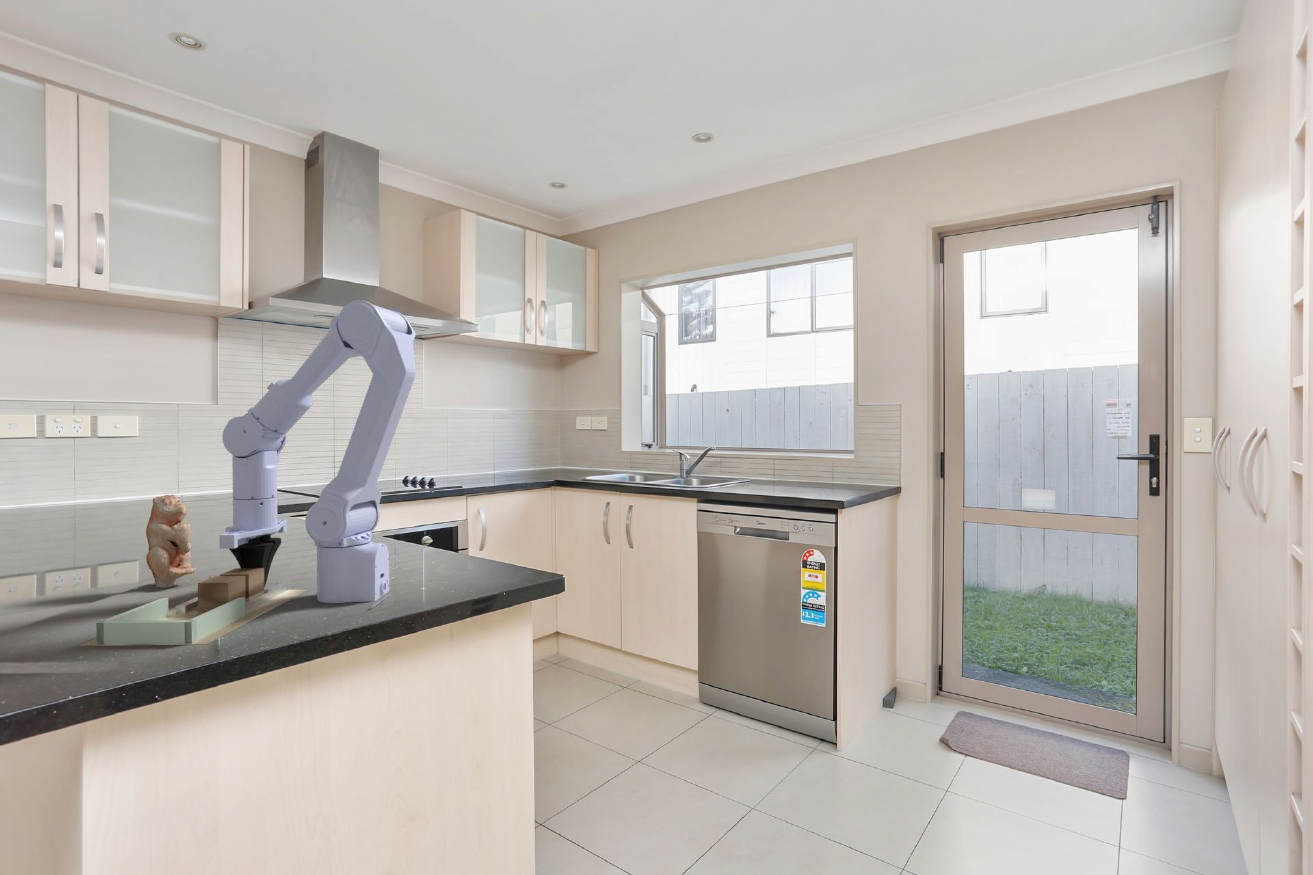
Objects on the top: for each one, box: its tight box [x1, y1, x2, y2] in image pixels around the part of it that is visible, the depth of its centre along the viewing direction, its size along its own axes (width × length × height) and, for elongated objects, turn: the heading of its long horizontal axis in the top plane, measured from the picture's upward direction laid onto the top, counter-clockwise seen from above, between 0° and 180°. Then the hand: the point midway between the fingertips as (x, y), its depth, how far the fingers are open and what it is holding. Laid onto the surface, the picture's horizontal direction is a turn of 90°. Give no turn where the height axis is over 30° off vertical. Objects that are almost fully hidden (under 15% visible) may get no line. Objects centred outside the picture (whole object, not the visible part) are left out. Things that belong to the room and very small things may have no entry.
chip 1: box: [197, 575, 245, 612], centre depth 91 cm, size 4×4×4 cm
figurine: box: [145, 494, 197, 589], centre depth 104 cm, size 6×8×15 cm
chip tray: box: [95, 597, 245, 646], centre depth 82 cm, size 11×11×2 cm
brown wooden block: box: [219, 567, 265, 599], centre depth 96 cm, size 4×4×4 cm
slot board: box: [79, 589, 309, 647], centre depth 88 cm, size 14×25×1 cm, turn 3°
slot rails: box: [175, 581, 291, 615], centre depth 94 cm, size 8×13×1 cm, turn 3°
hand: (256, 587), depth 99 cm, fingers closed
